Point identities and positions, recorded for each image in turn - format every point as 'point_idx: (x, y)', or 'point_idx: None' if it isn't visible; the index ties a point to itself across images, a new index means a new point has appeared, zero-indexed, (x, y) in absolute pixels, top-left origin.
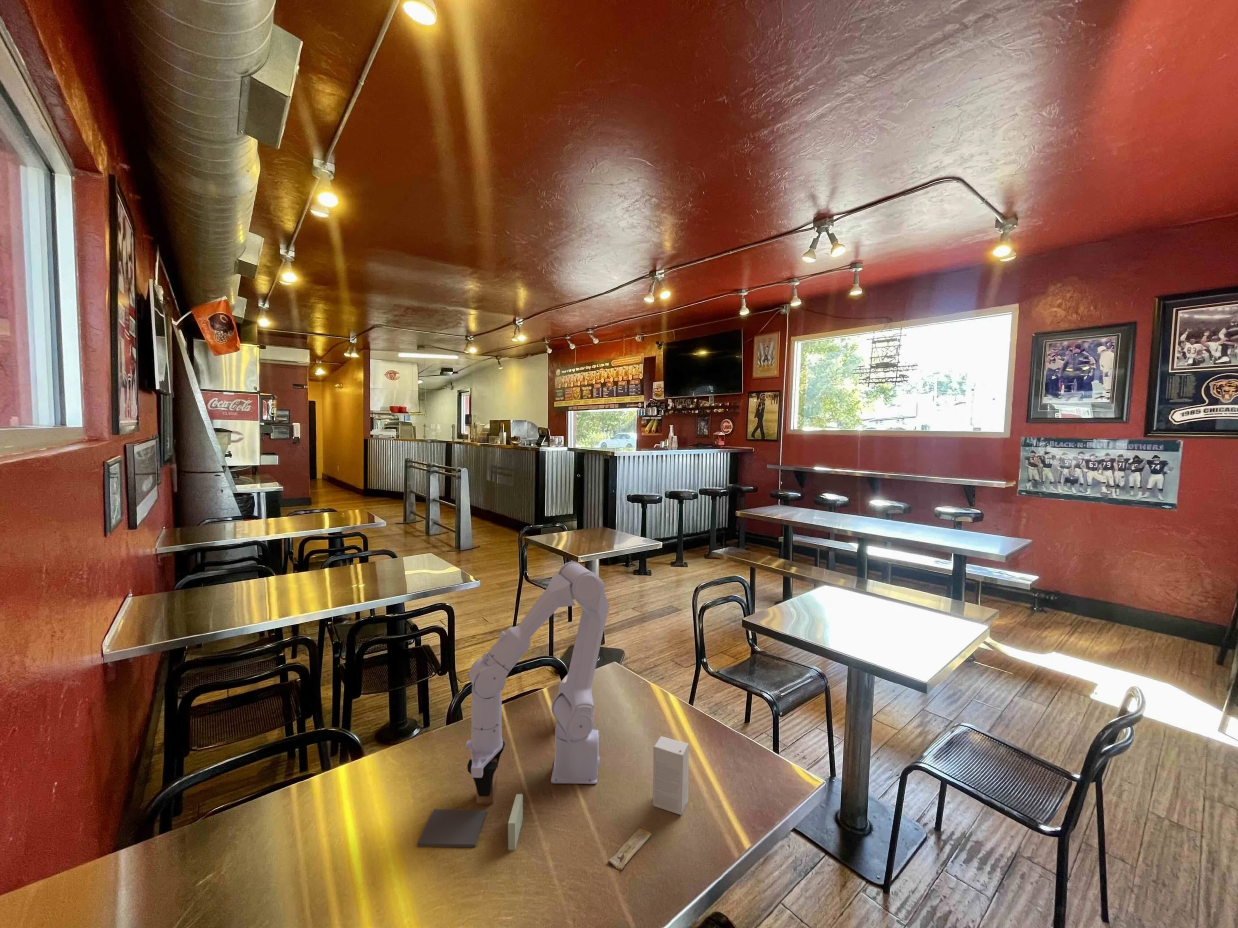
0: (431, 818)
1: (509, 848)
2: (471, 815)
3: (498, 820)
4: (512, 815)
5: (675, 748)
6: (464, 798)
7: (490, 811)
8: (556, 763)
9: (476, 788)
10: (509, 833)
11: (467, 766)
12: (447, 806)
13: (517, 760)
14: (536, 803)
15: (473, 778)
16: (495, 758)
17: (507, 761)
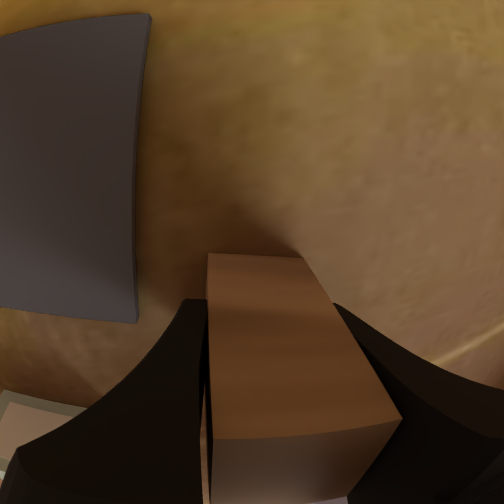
0: (77, 30)
1: (2, 395)
2: (91, 255)
3: (101, 363)
4: (2, 472)
5: None
6: (254, 172)
7: (148, 329)
8: (336, 502)
9: (173, 320)
10: None
11: (10, 496)
12: (190, 82)
13: (449, 356)
14: (204, 451)
15: (113, 388)
16: (347, 491)
17: (460, 324)
